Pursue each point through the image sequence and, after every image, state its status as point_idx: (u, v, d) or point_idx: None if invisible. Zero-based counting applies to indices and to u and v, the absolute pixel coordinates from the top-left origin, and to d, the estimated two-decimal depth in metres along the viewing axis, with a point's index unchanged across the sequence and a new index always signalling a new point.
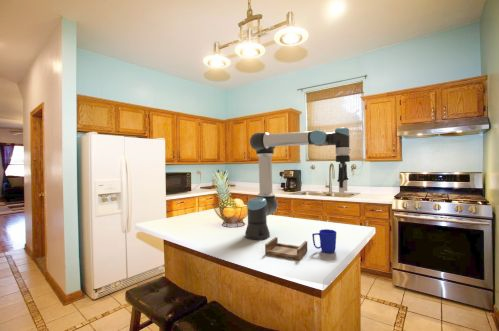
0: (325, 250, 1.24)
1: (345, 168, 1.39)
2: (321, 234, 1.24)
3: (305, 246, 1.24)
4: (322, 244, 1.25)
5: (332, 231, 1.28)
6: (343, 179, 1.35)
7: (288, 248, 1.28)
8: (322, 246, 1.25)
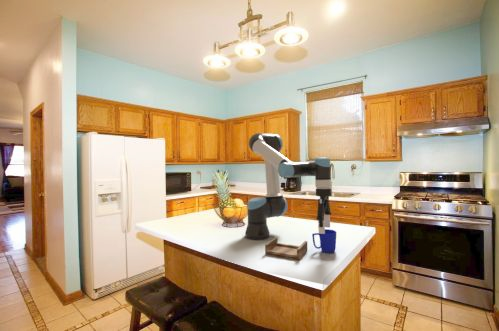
0: (325, 250, 1.24)
1: (326, 203, 1.23)
2: (321, 234, 1.24)
3: (305, 246, 1.24)
4: (322, 244, 1.25)
5: (332, 231, 1.28)
6: (323, 217, 1.18)
7: (288, 248, 1.28)
8: (322, 246, 1.25)
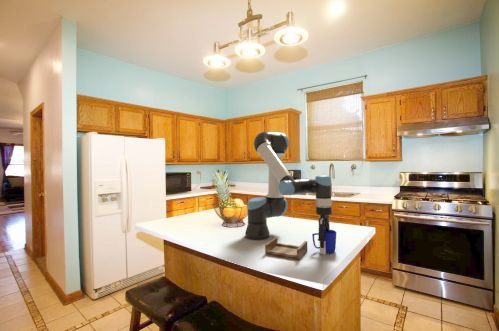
0: None
1: (326, 223, 1.23)
2: None
3: (305, 246, 1.24)
4: None
5: (332, 231, 1.28)
6: (324, 239, 1.20)
7: (288, 248, 1.28)
8: None
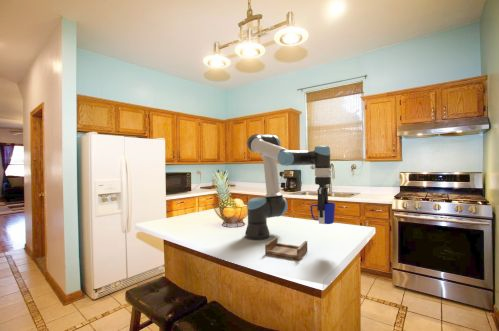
0: None
1: (325, 192, 1.23)
2: None
3: (305, 246, 1.24)
4: None
5: (331, 203, 1.27)
6: (323, 208, 1.21)
7: (288, 248, 1.28)
8: None
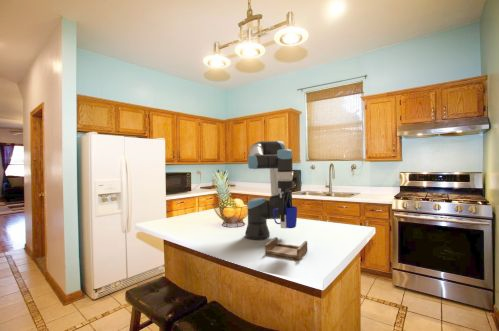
0: None
1: (287, 196, 1.22)
2: None
3: (305, 246, 1.24)
4: None
5: (294, 207, 1.26)
6: (284, 212, 1.20)
7: (288, 248, 1.28)
8: None
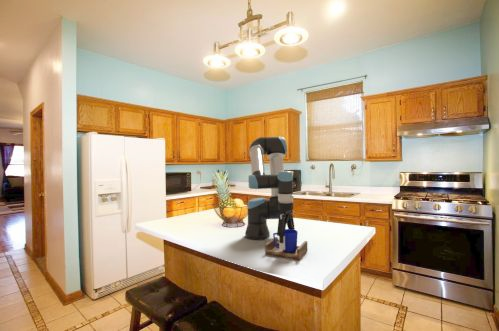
0: (285, 250, 1.22)
1: (287, 218, 1.22)
2: None
3: (305, 246, 1.24)
4: None
5: (294, 231, 1.26)
6: (283, 233, 1.18)
7: None
8: None
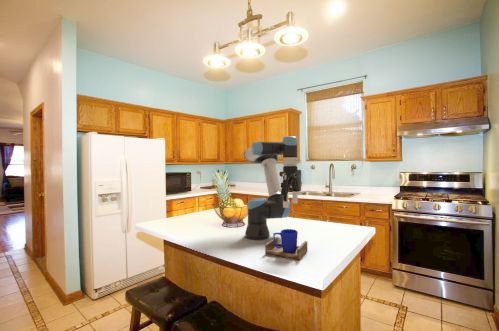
0: (285, 250, 1.22)
1: (291, 180, 1.30)
2: (281, 234, 1.23)
3: (305, 246, 1.24)
4: (282, 244, 1.23)
5: (294, 231, 1.26)
6: (287, 192, 1.26)
7: None
8: (282, 246, 1.23)
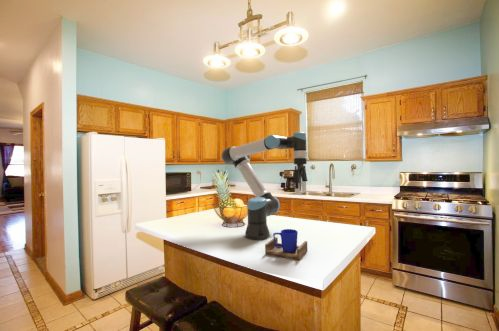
0: (285, 250, 1.22)
1: (301, 170, 1.48)
2: (281, 234, 1.23)
3: (305, 246, 1.24)
4: (282, 244, 1.23)
5: (294, 231, 1.26)
6: (298, 180, 1.44)
7: None
8: (282, 246, 1.23)
